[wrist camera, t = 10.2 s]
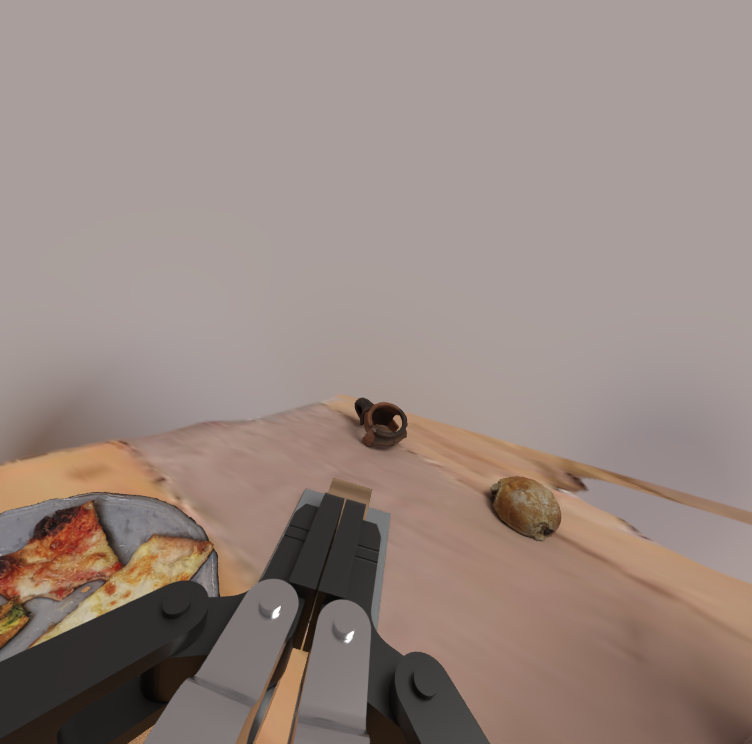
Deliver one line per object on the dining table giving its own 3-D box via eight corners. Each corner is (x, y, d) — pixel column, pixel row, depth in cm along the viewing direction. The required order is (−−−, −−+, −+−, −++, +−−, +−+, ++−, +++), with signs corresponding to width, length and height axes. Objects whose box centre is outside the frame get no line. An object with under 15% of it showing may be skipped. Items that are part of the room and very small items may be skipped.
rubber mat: (305, 490, 47) (305, 488, 47) (389, 515, 47) (390, 513, 47) (252, 597, 32) (252, 595, 32) (375, 636, 32) (376, 633, 32)
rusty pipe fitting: (409, 439, 70) (421, 417, 63) (380, 471, 64) (391, 452, 58) (364, 402, 73) (371, 378, 67) (333, 430, 67) (338, 407, 61)
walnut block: (286, 613, 31) (325, 509, 45) (338, 630, 31) (362, 520, 45) (295, 574, 30) (333, 477, 43) (351, 591, 30) (372, 489, 43)
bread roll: (505, 556, 51) (545, 537, 46) (472, 489, 57) (504, 466, 52) (545, 541, 56) (585, 523, 51) (511, 482, 62) (544, 460, 57)
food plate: (101, 477, 40) (100, 453, 39) (268, 572, 35) (273, 547, 34) (-407, 741, 18) (-448, 703, 17) (-152, 1117, 13) (-183, 1103, 11)
